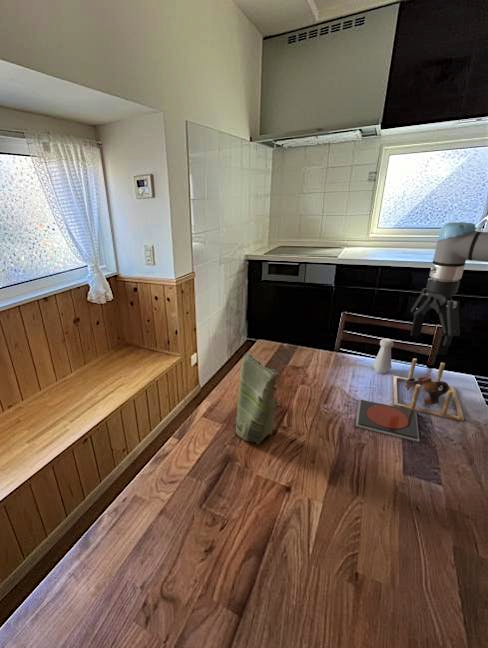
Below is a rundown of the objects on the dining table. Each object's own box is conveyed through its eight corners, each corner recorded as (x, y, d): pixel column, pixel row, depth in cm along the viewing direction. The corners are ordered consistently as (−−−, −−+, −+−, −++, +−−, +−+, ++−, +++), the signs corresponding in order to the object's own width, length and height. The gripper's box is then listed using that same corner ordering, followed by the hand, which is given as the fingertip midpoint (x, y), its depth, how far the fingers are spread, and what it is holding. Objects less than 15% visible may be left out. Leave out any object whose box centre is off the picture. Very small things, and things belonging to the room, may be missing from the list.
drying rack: (453, 388, 115) (461, 365, 111) (463, 421, 100) (472, 396, 96) (393, 377, 123) (398, 355, 119) (393, 406, 108) (399, 382, 104)
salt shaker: (393, 371, 126) (400, 340, 121) (383, 376, 124) (390, 345, 119) (378, 365, 131) (384, 335, 126) (369, 370, 129) (375, 339, 123)
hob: (416, 413, 104) (417, 410, 103) (419, 442, 93) (420, 438, 92) (358, 401, 111) (359, 397, 111) (355, 426, 100) (356, 423, 100)
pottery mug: (416, 408, 107) (409, 383, 108) (404, 403, 116) (398, 380, 117) (458, 400, 104) (450, 375, 105) (443, 396, 114) (436, 372, 114)
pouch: (239, 418, 107) (239, 348, 97) (277, 424, 103) (282, 352, 93) (231, 441, 98) (231, 367, 87) (273, 449, 94) (278, 372, 83)
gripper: (407, 269, 109) (394, 328, 118) (460, 291, 86) (439, 363, 95) (431, 268, 109) (417, 328, 117) (490, 290, 86) (467, 363, 95)
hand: (427, 344), depth 106 cm, fingers open, 13 cm apart
